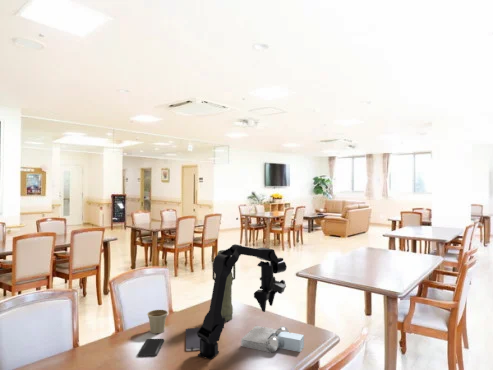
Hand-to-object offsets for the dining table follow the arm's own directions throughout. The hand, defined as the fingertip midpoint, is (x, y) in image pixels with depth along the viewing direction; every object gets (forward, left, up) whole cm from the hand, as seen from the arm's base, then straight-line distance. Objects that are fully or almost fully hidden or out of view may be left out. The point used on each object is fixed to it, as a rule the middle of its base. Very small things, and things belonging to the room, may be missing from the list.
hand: (267, 308), depth 160 cm
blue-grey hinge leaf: (+14, -10, -11) cm, 20 cm away
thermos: (-27, +7, -11) cm, 30 cm away
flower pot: (-48, -20, -11) cm, 53 cm away
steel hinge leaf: (+3, -10, -11) cm, 15 cm away
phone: (-39, -35, -12) cm, 54 cm away
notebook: (-25, -19, -12) cm, 34 cm away
